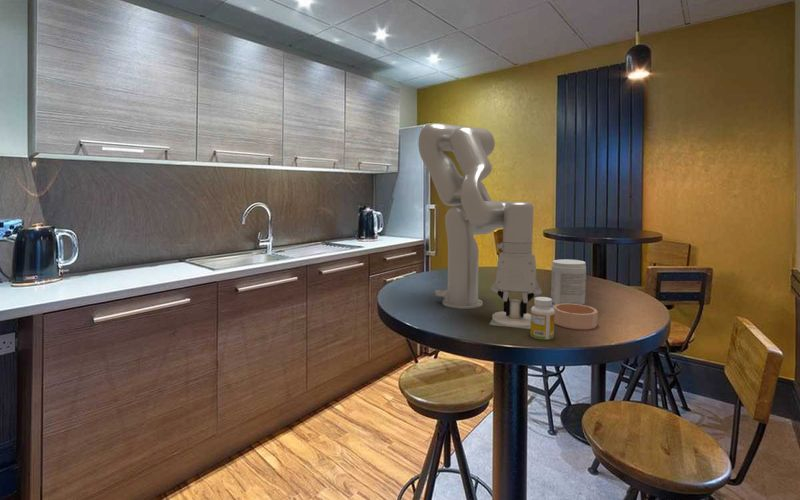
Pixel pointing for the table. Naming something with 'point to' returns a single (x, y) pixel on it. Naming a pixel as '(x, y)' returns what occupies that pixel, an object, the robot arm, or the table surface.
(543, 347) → the table surface
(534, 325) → the supplement bottle
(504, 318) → the lid
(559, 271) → the supplement tub
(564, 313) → the bowl
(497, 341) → the table surface
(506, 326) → the mat
